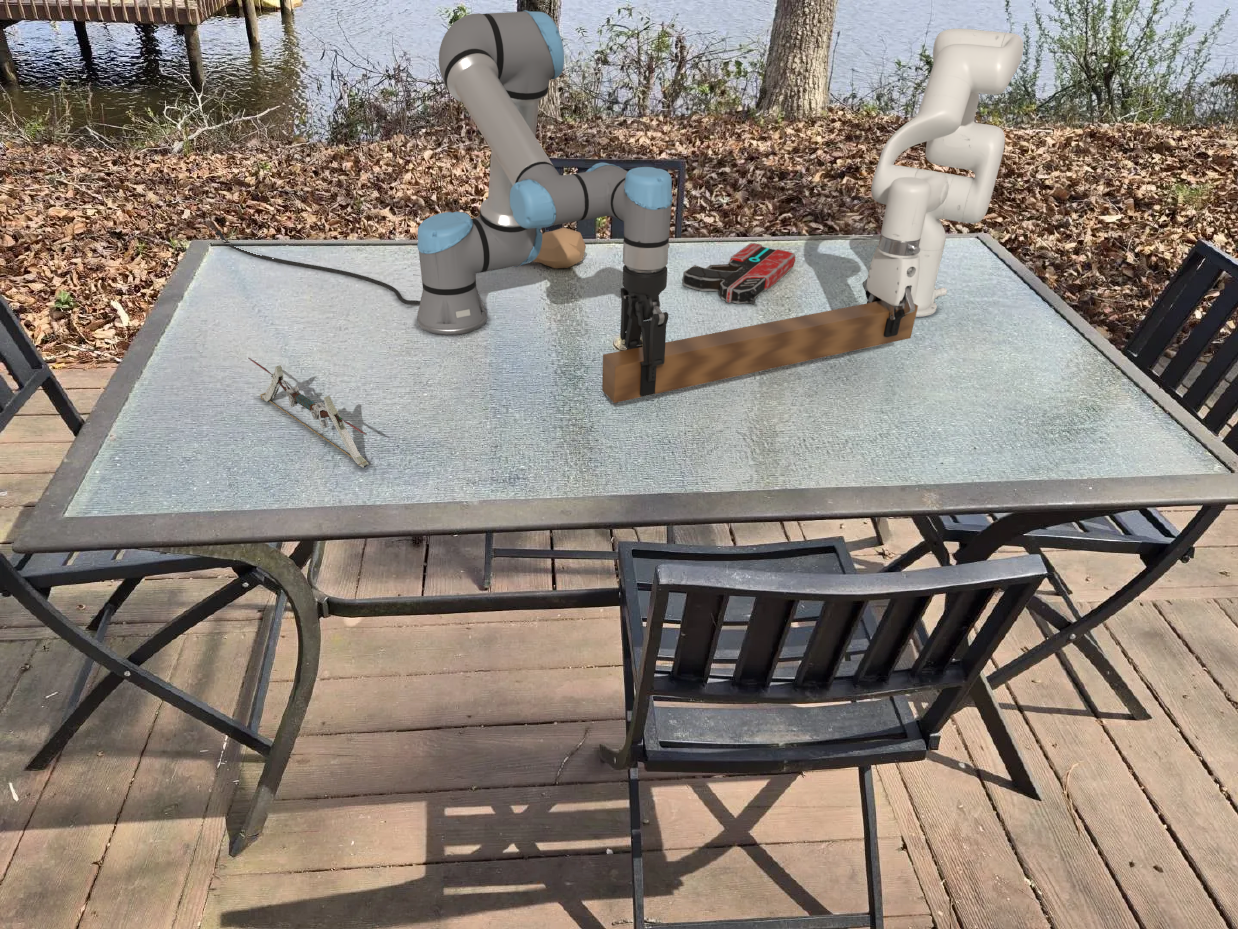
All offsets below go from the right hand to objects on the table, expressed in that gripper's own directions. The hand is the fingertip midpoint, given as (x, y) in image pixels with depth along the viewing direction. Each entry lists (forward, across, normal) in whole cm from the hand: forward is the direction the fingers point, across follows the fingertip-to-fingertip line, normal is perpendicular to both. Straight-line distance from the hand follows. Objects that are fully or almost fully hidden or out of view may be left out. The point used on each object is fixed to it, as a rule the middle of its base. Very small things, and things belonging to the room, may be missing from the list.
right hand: (881, 329), depth 180 cm
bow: (+8, +18, +112) cm, 114 cm away
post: (+2, 0, +28) cm, 28 cm away
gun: (+8, +51, +1) cm, 51 cm away
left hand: (+1, -1, +56) cm, 56 cm away
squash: (+8, +79, +43) cm, 90 cm away
